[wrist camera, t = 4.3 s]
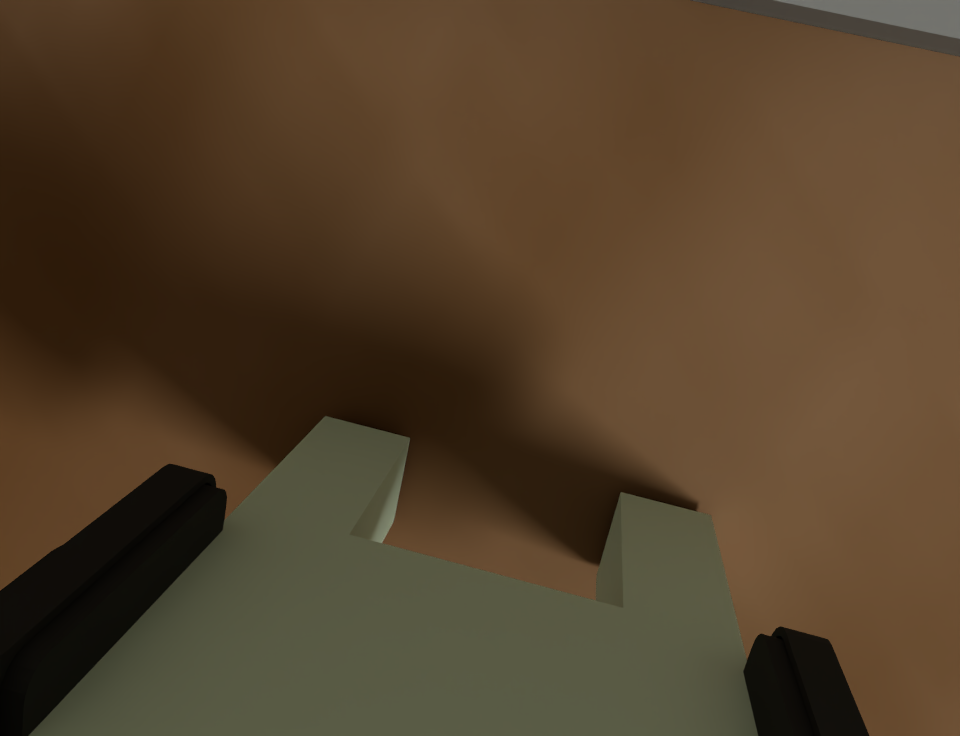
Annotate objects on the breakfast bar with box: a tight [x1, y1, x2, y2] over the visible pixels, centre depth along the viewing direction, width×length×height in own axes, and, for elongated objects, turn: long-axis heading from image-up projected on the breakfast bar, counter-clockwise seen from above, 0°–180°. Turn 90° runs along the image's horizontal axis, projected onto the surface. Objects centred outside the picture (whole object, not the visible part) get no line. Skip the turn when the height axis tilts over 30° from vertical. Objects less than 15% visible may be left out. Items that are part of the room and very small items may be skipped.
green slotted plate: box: [29, 416, 758, 736], centre depth 10 cm, size 7×2×10 cm, turn 78°
